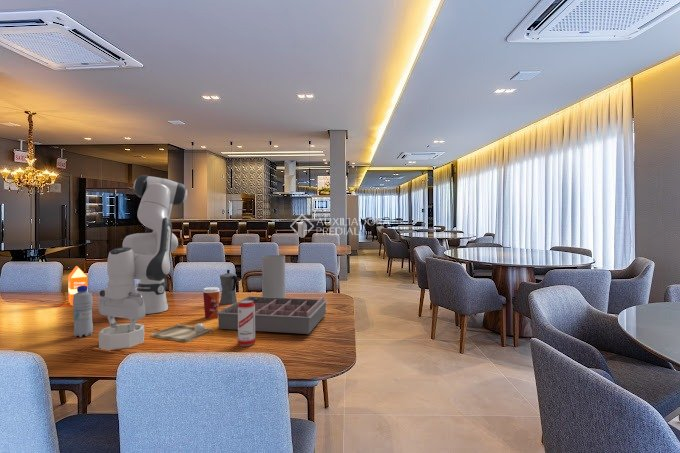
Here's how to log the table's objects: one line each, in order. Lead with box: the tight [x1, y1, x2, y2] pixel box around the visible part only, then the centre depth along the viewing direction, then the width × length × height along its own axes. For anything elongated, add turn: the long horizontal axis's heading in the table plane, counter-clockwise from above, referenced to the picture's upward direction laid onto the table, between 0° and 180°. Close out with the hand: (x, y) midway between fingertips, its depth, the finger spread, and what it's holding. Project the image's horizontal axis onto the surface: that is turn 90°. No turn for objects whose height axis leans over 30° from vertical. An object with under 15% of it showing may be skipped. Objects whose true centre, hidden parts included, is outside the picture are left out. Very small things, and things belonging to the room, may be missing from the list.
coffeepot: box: [219, 269, 238, 305], centre depth 204 cm, size 15×9×18 cm, turn 43°
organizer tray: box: [216, 295, 328, 335], centre depth 166 cm, size 32×40×10 cm
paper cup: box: [202, 286, 221, 320], centre depth 174 cm, size 8×8×14 cm
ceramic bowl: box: [98, 323, 145, 351], centre depth 140 cm, size 14×14×6 cm
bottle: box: [72, 285, 94, 338], centre depth 149 cm, size 7×7×20 cm
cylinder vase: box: [261, 254, 286, 298], centre depth 209 cm, size 12×12×25 cm
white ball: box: [194, 322, 206, 334], centre depth 150 cm, size 4×4×4 cm
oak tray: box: [150, 323, 213, 343], centre depth 150 cm, size 18×14×2 cm
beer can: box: [237, 299, 256, 347], centre depth 139 cm, size 6×6×16 cm
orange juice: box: [67, 265, 89, 306], centre depth 204 cm, size 8×9×20 cm
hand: (122, 328), depth 139 cm, fingers open, 8 cm apart
